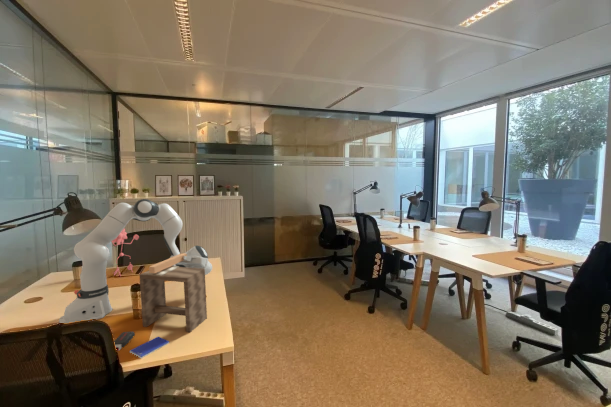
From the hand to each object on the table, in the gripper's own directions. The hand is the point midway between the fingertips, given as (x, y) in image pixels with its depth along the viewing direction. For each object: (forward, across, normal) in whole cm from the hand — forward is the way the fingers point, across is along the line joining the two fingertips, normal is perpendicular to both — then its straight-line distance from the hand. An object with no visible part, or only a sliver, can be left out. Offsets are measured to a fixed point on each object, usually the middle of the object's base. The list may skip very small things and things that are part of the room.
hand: (179, 257), depth 156 cm
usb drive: (+14, -6, +42) cm, 45 cm away
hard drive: (+14, +9, +43) cm, 46 cm away
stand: (-4, +5, +32) cm, 32 cm away
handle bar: (+6, 0, +6) cm, 8 cm away
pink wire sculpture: (-54, -86, +3) cm, 101 cm away
